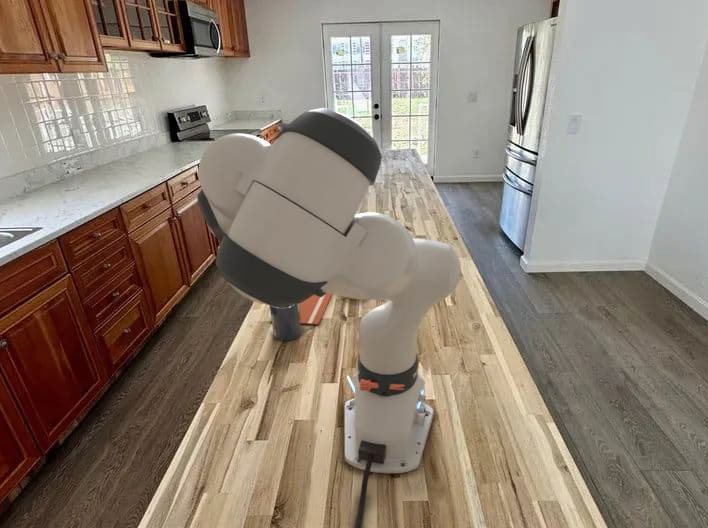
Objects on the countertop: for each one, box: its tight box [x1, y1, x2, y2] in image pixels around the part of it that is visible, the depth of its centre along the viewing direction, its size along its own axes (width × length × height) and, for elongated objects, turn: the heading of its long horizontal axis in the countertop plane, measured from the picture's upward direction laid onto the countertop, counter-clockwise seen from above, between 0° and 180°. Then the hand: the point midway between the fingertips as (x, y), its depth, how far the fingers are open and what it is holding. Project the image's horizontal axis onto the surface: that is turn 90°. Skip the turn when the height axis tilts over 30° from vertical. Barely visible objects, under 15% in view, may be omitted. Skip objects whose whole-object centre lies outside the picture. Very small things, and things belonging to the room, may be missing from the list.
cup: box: [269, 304, 303, 342], centre depth 117 cm, size 8×8×10 cm
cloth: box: [270, 293, 333, 326], centre depth 132 cm, size 20×14×1 cm
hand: (301, 256), depth 105 cm, fingers closed
